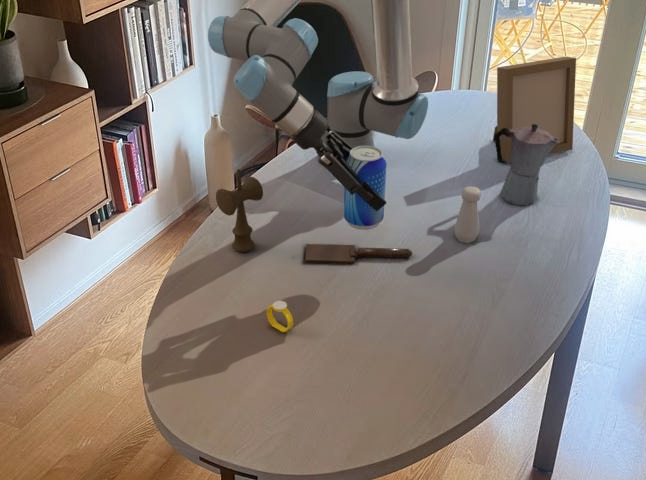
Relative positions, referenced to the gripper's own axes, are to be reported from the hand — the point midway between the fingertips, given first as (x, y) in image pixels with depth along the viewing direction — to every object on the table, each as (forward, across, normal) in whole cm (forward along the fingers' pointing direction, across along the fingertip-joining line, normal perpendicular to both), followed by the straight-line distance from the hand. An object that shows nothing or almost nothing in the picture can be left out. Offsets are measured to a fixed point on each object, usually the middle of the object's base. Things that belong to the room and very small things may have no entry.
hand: (380, 195), depth 170 cm
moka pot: (+40, -33, +13) cm, 53 cm away
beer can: (+2, 0, -7) cm, 7 cm away
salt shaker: (+28, -13, +2) cm, 31 cm away
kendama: (-8, -8, -34) cm, 36 cm away
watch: (-1, +22, -27) cm, 35 cm away
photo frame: (+45, -61, +18) cm, 78 cm away
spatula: (+11, -5, -15) cm, 19 cm away
